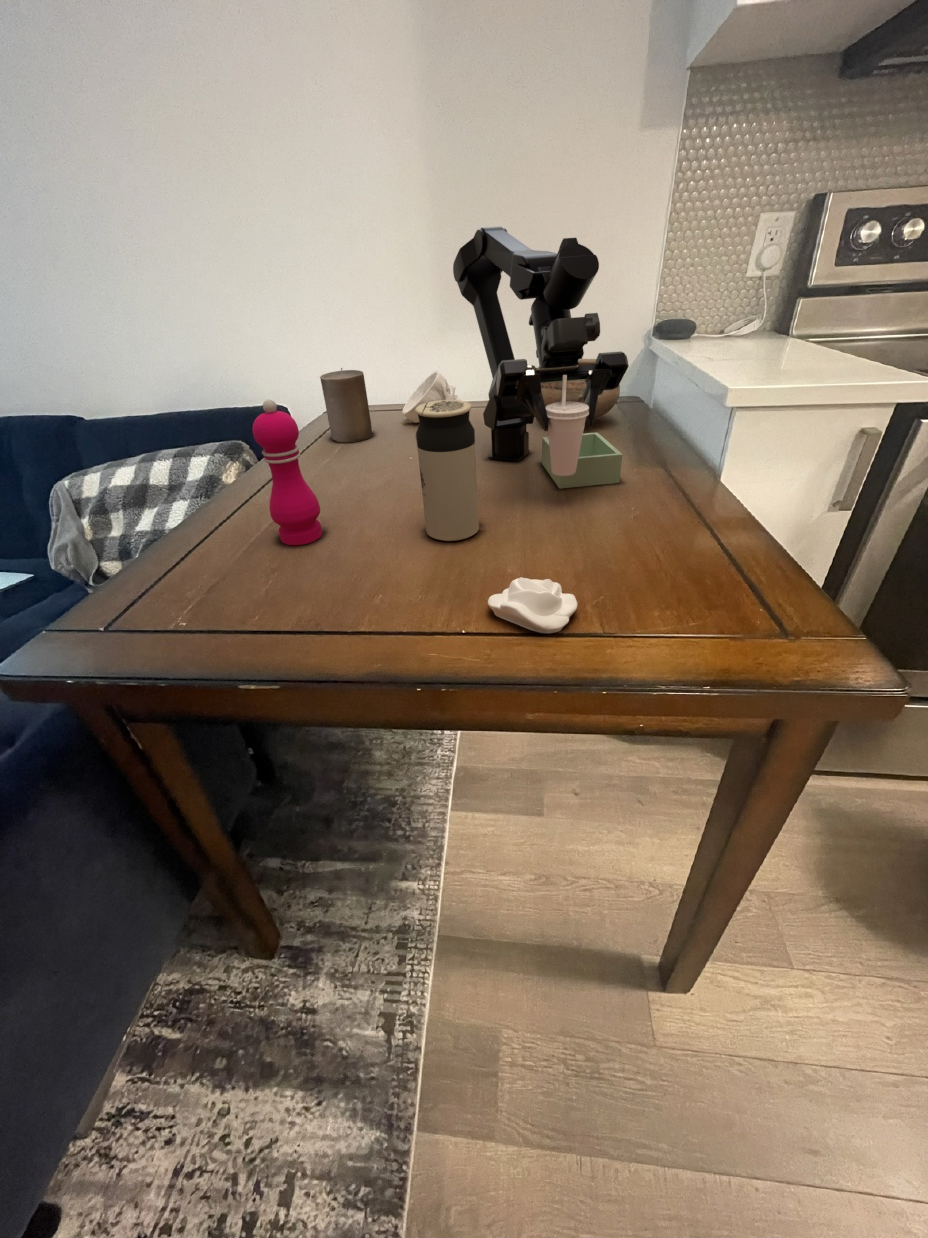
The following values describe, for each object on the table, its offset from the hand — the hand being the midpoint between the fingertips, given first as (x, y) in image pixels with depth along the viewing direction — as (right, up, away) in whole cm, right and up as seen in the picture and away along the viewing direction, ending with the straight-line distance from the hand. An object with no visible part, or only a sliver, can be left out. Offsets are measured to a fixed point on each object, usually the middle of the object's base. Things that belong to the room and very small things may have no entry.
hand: (568, 427), depth 79 cm
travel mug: (-17, -15, +3) cm, 23 cm away
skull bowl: (-23, +22, +57) cm, 65 cm away
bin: (+6, -1, +20) cm, 21 cm away
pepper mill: (-40, -15, +4) cm, 43 cm away
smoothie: (0, -5, +5) cm, 7 cm away
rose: (-8, -27, -16) cm, 33 cm away
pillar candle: (-42, +15, +49) cm, 66 cm away
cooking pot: (+11, +18, +48) cm, 52 cm away
